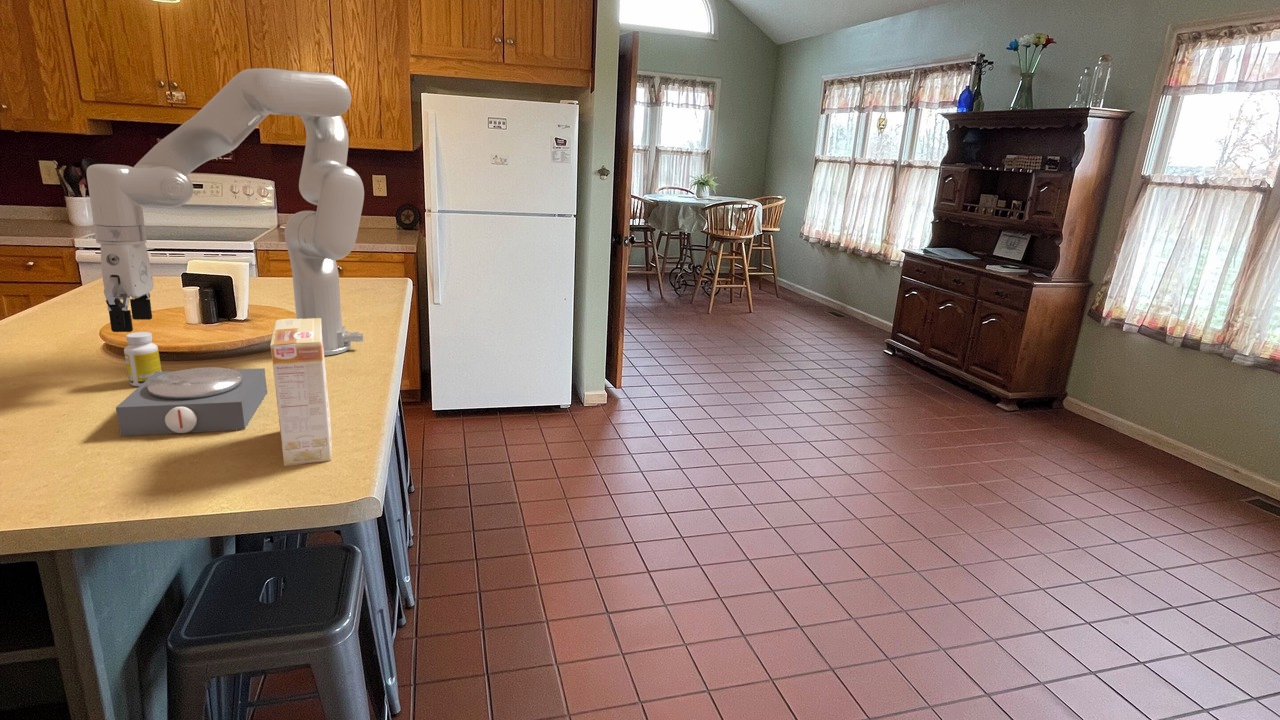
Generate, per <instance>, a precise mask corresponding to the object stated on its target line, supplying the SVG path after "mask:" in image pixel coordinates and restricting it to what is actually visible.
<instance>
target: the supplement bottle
mask: <svg viewBox="0 0 1280 720" xmlns="http://www.w3.org/2000/svg"><path fill="white" fill-rule="evenodd" d="M125 340H126V344H128V345H126V346H125V347H124V349H123V353H124V359H125V365H126V370H127V371H126V372H127V377H128V381H129V382H128V383H129V384H130V386H133V387H139V386H140V385H142V384H143V383H144V382H145V381H146V380H147V379H148V378H150V377H151V376H152V375H153V374H154V373H155V372H163V370H162V364H161V358H160V357H161V356H160V353H159V352H160V351H159V347H158V345H157V344H155V343H153V342H152V341H153V337H152V332H149V331H137V332H129V333H128V334H126V335H125Z"/></svg>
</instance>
